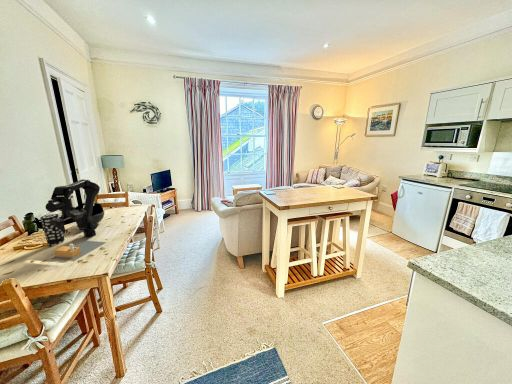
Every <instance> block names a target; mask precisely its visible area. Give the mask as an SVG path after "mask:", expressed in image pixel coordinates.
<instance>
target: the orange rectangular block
mask: <svg viewBox="0 0 512 384" xmlns="http://www.w3.org/2000/svg"><path fill="white" fill-rule="evenodd" d="M73 247H74V246H73ZM53 252H54V256H58V257H68V258H74V257H76V256H78V255H79V254H81V251H80V248H79V247H74V250H73V251H70V247H69V245H67V246H66V245H62V246H59V247H57V248H55V249H53Z"/></svg>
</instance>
